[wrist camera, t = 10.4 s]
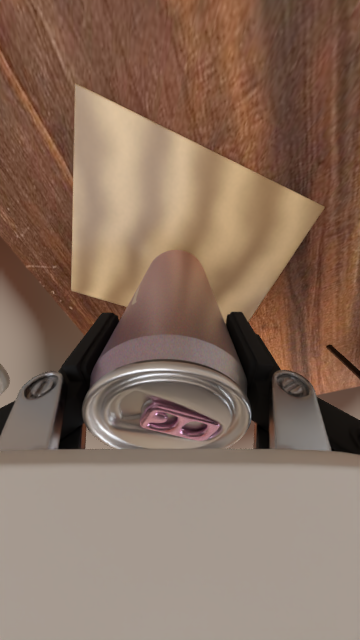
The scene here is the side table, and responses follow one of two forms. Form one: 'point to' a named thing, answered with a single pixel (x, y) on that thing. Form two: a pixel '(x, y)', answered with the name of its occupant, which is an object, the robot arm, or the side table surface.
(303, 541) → the robot arm
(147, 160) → the serving board
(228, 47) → the side table surface
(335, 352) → the planter
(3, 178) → the side table surface
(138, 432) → the beverage can
